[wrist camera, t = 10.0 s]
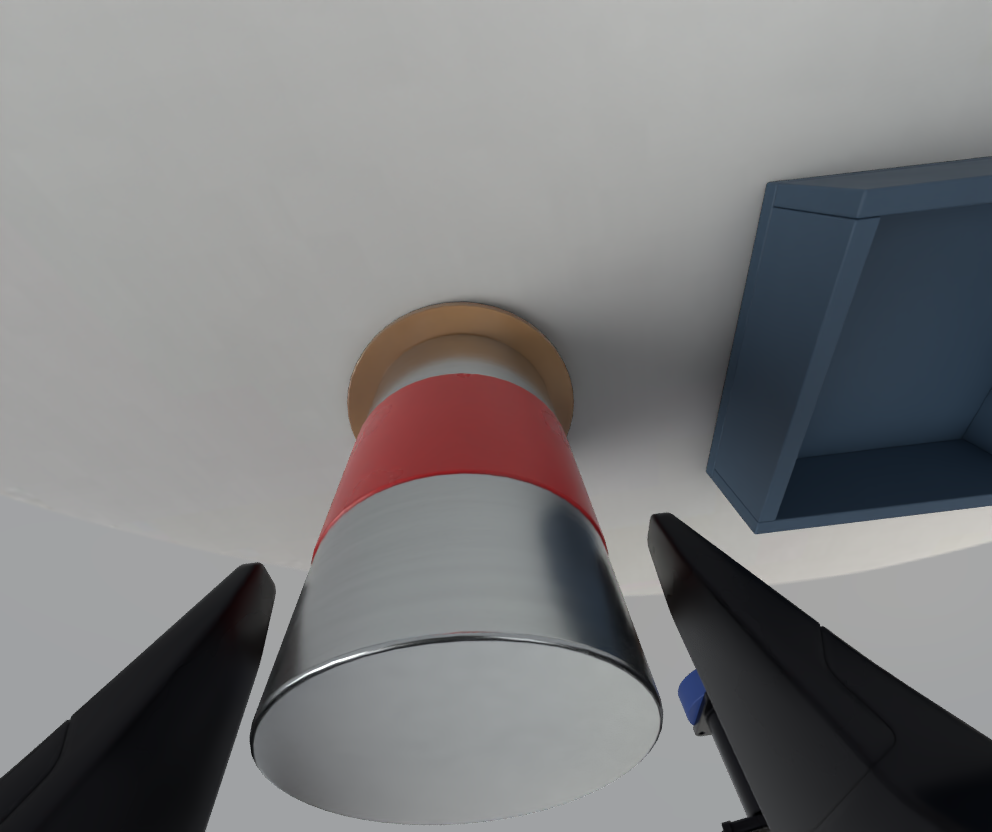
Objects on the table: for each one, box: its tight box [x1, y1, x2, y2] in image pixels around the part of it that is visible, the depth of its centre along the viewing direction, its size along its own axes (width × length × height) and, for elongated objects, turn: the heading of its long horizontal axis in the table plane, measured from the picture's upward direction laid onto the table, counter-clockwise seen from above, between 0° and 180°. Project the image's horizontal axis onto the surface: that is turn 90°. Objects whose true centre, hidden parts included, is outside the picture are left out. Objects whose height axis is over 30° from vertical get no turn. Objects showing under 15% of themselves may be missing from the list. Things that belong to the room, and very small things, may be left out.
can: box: [250, 334, 663, 825], centre depth 11 cm, size 6×6×10 cm
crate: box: [706, 156, 992, 534], centre depth 13 cm, size 11×11×4 cm
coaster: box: [347, 302, 574, 439], centre depth 15 cm, size 8×8×1 cm
